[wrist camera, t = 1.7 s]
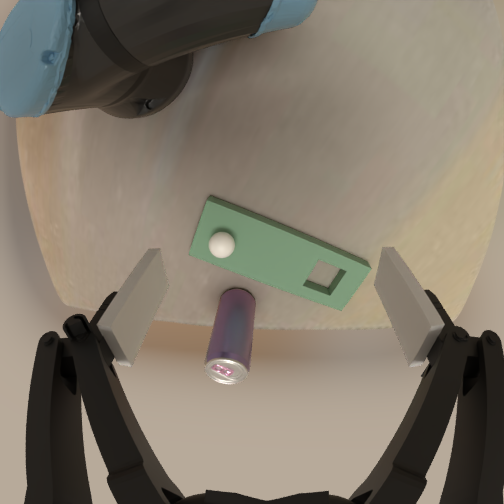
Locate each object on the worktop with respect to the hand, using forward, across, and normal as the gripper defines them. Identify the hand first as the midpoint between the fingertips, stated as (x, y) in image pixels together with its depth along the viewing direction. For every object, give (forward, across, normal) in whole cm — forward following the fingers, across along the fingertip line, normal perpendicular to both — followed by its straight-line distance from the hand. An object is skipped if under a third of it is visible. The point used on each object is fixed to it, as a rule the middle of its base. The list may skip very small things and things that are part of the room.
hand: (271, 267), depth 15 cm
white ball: (+18, -7, -8) cm, 21 cm away
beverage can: (+22, -6, -21) cm, 31 cm away
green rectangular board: (+22, +2, -12) cm, 25 cm away
